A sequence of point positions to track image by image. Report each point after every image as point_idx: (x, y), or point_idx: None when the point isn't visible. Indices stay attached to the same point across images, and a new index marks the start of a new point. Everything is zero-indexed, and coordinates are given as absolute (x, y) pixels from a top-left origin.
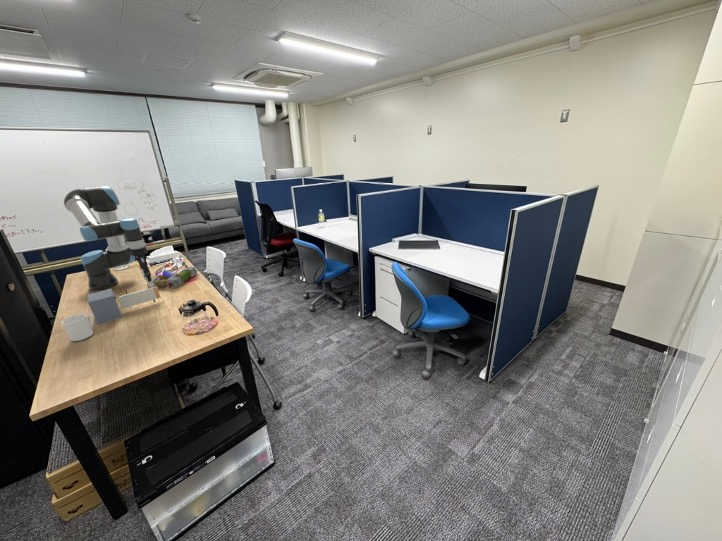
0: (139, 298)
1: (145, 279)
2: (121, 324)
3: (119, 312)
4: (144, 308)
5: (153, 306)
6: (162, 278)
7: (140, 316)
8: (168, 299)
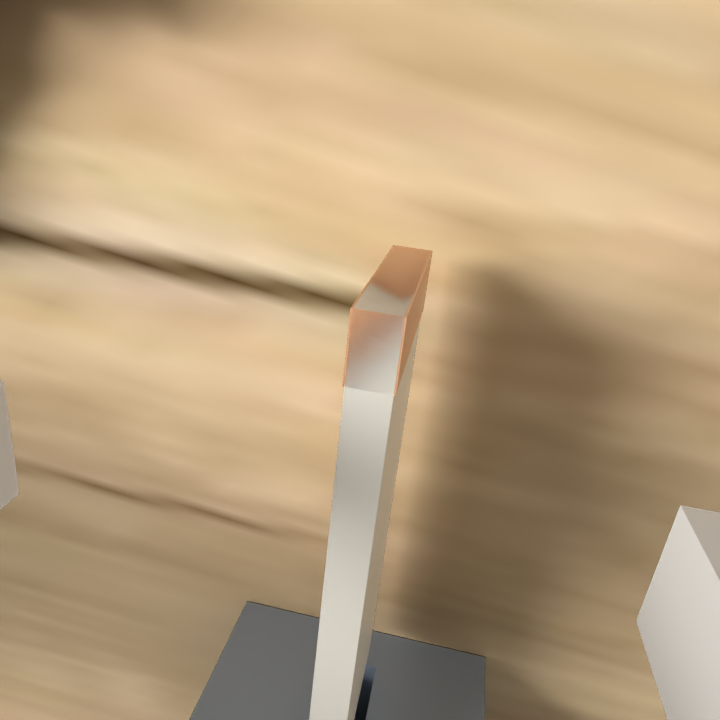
0: (381, 541)
1: (14, 475)
2: None
3: (484, 717)
4: (471, 462)
5: (518, 376)
6: None
7: None
8: (463, 142)
